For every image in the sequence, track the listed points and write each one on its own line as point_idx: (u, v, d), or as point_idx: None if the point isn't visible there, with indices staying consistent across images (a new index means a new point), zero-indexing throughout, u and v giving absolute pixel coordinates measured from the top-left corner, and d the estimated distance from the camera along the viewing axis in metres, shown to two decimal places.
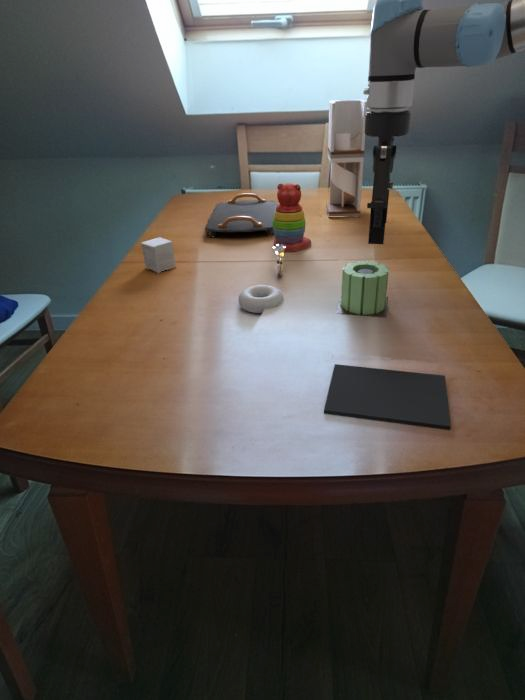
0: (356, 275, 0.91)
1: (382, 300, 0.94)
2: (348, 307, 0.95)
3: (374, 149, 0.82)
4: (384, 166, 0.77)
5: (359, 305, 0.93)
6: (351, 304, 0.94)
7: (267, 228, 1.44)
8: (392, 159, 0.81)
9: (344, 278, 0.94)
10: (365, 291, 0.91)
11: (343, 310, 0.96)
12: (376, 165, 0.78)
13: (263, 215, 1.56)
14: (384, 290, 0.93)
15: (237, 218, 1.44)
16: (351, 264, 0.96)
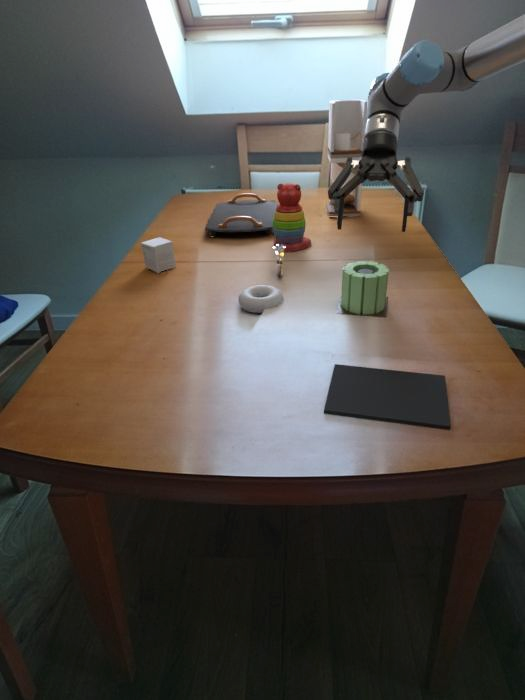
0: (356, 275, 0.91)
1: (382, 300, 0.94)
2: (348, 307, 0.95)
3: None
4: None
5: (359, 305, 0.93)
6: (351, 304, 0.94)
7: (267, 228, 1.44)
8: None
9: (344, 278, 0.94)
10: (365, 291, 0.91)
11: (343, 310, 0.96)
12: None
13: (263, 215, 1.56)
14: (384, 290, 0.93)
15: (237, 218, 1.44)
16: (351, 264, 0.96)
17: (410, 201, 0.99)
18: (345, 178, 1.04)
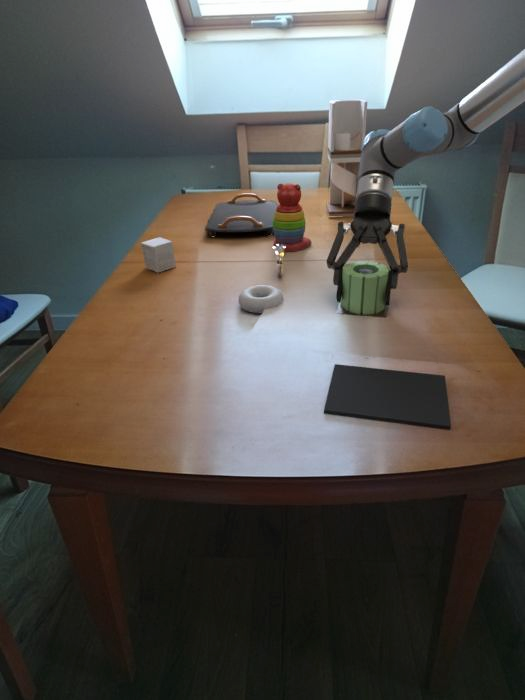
0: (356, 275, 0.91)
1: (382, 300, 0.94)
2: (348, 307, 0.95)
3: (379, 224, 0.96)
4: None
5: (359, 305, 0.93)
6: (351, 304, 0.94)
7: (267, 228, 1.44)
8: None
9: (344, 278, 0.94)
10: (365, 291, 0.91)
11: (343, 310, 0.96)
12: (403, 237, 0.95)
13: (263, 215, 1.56)
14: (384, 290, 0.93)
15: (237, 218, 1.44)
16: (351, 264, 0.96)
17: (394, 273, 0.93)
18: (340, 244, 0.98)
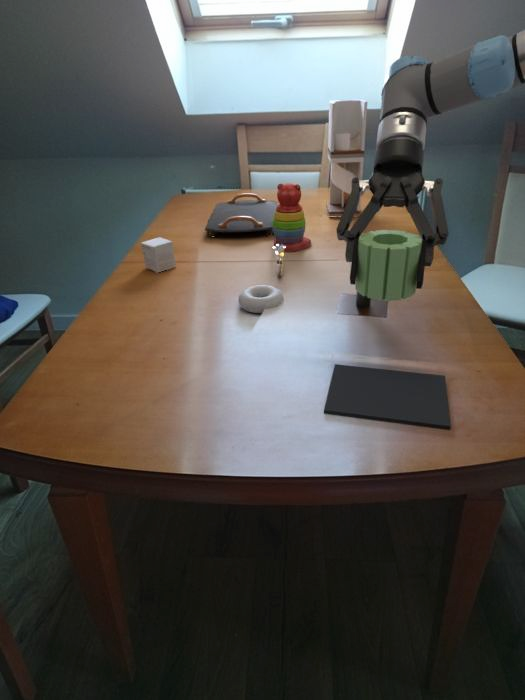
0: (378, 246, 0.66)
1: (412, 281, 0.69)
2: (366, 291, 0.71)
3: (408, 179, 0.71)
4: None
5: (381, 288, 0.69)
6: (370, 287, 0.70)
7: (267, 228, 1.44)
8: None
9: (360, 251, 0.69)
10: (390, 268, 0.67)
11: (343, 310, 0.96)
12: None
13: (263, 215, 1.56)
14: (415, 267, 0.68)
15: (237, 218, 1.44)
16: (370, 233, 0.72)
17: (429, 245, 0.69)
18: (354, 207, 0.74)
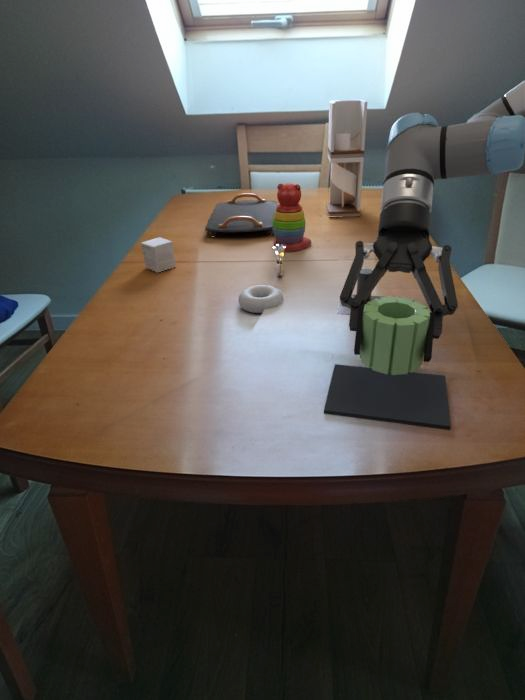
0: (384, 321, 0.63)
1: (420, 355, 0.66)
2: (370, 363, 0.67)
3: None
4: None
5: (387, 362, 0.65)
6: (375, 360, 0.66)
7: (268, 228, 1.44)
8: None
9: (365, 323, 0.66)
10: (397, 344, 0.63)
11: (343, 310, 0.96)
12: (449, 265, 0.67)
13: (263, 215, 1.56)
14: (423, 341, 0.65)
15: (238, 218, 1.44)
16: (375, 302, 0.68)
17: (437, 317, 0.65)
18: (358, 272, 0.70)
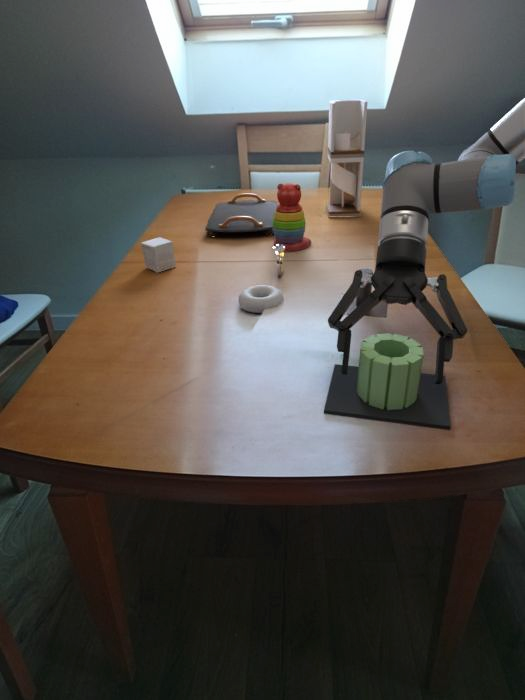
0: (379, 360, 0.66)
1: (414, 391, 0.69)
2: (367, 398, 0.71)
3: None
4: None
5: (383, 398, 0.68)
6: (372, 396, 0.69)
7: (268, 228, 1.44)
8: None
9: (362, 361, 0.69)
10: (392, 381, 0.67)
11: None
12: (449, 293, 0.70)
13: (263, 215, 1.56)
14: (417, 378, 0.68)
15: (238, 218, 1.44)
16: (371, 339, 0.71)
17: (447, 341, 0.68)
18: (352, 299, 0.73)
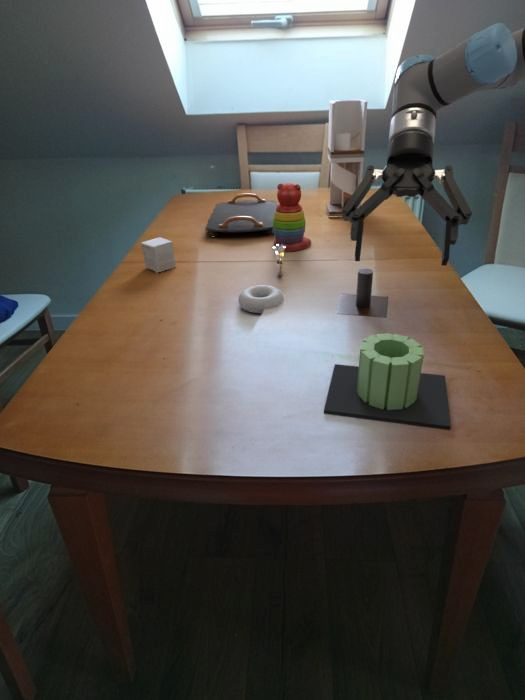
0: (379, 360, 0.66)
1: (414, 391, 0.69)
2: (367, 398, 0.71)
3: (419, 169, 0.76)
4: None
5: (383, 398, 0.68)
6: (372, 396, 0.69)
7: (268, 228, 1.44)
8: None
9: (362, 361, 0.69)
10: (392, 381, 0.67)
11: (343, 310, 0.96)
12: (455, 182, 0.75)
13: (263, 215, 1.56)
14: (417, 378, 0.68)
15: (238, 218, 1.44)
16: (371, 339, 0.71)
17: (453, 225, 0.74)
18: (364, 193, 0.79)
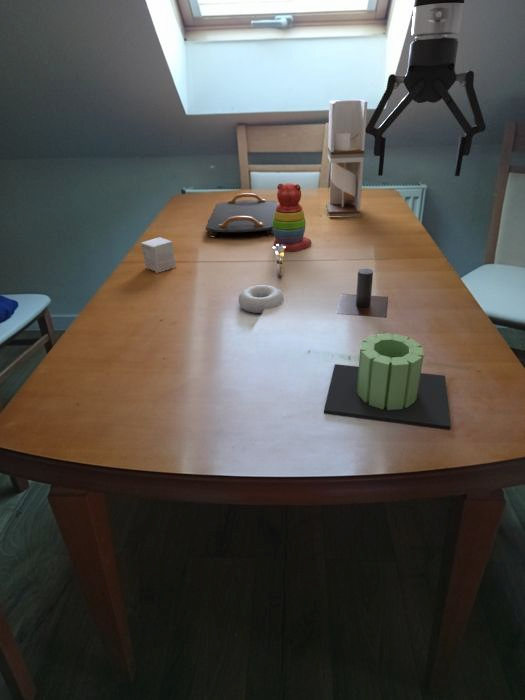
0: (379, 360, 0.66)
1: (414, 391, 0.69)
2: (367, 398, 0.71)
3: (440, 80, 0.77)
4: None
5: (383, 398, 0.68)
6: (372, 396, 0.69)
7: (268, 228, 1.44)
8: None
9: (362, 361, 0.69)
10: (392, 381, 0.67)
11: (343, 310, 0.96)
12: (474, 90, 0.78)
13: (264, 215, 1.56)
14: (417, 378, 0.68)
15: (238, 218, 1.44)
16: (371, 339, 0.71)
17: (467, 139, 0.82)
18: None
